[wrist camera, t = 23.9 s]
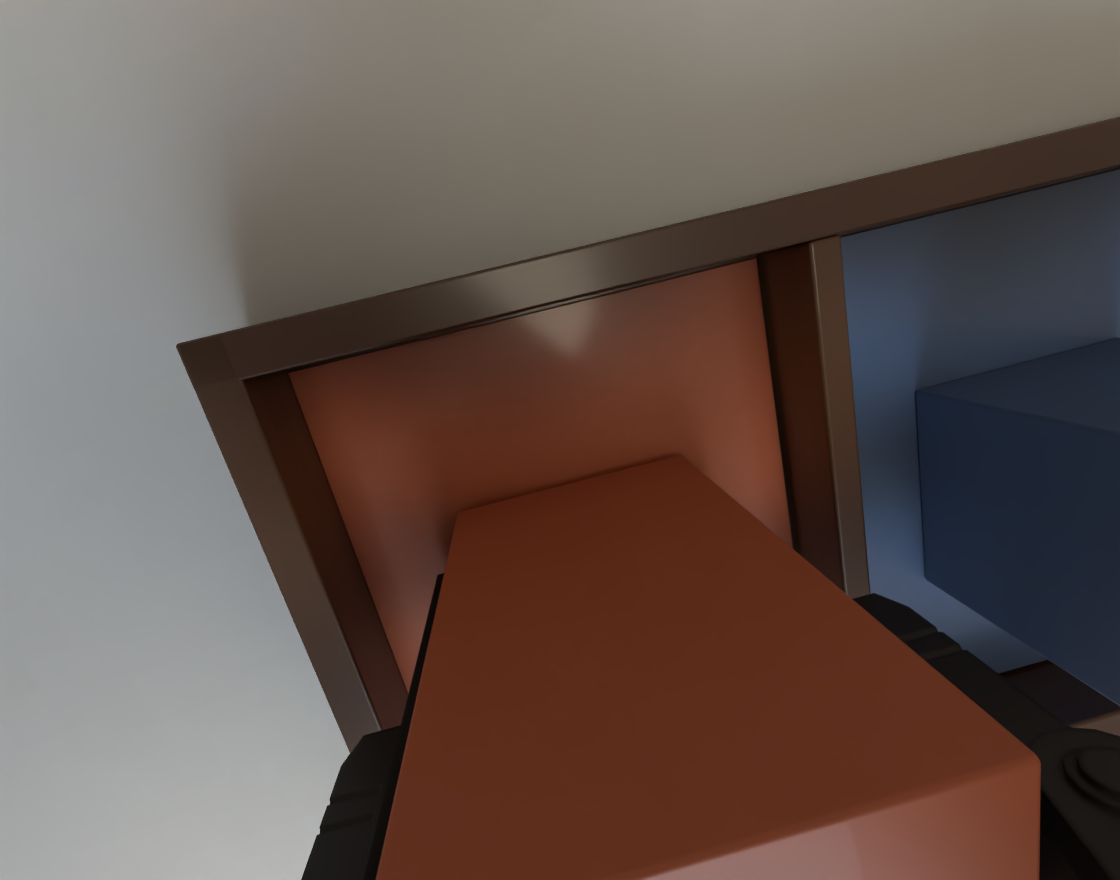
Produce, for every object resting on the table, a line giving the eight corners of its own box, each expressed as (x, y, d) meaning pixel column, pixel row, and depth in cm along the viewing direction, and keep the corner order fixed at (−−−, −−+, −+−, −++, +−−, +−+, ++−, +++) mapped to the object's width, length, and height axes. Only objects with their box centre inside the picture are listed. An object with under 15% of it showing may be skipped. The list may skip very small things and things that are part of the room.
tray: (248, 335, 11) (173, 344, 9) (1216, 101, 12) (1405, 47, 9) (441, 833, 15) (429, 941, 12) (1168, 625, 16) (1295, 686, 13)
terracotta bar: (456, 511, 11) (353, 959, 4) (681, 453, 11) (1046, 757, 4) (515, 701, 13) (533, 1327, 5) (716, 646, 13) (1039, 1164, 5)
